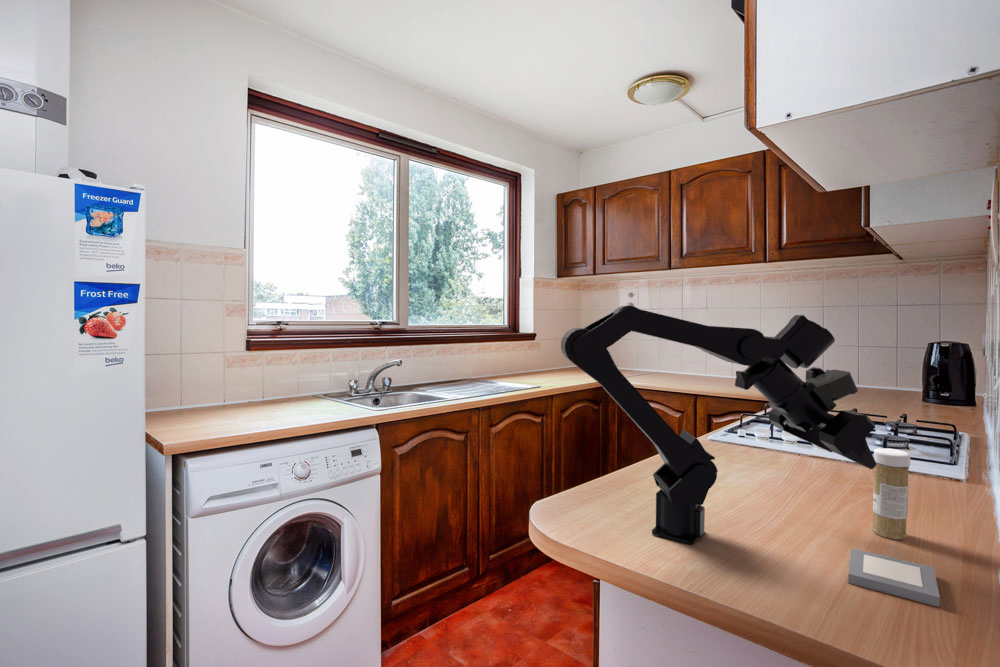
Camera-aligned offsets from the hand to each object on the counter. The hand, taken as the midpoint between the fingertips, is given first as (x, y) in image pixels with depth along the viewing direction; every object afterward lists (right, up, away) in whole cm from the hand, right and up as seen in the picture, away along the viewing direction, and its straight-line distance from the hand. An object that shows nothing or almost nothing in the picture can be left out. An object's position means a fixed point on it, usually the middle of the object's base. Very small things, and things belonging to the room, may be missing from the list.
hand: (852, 458), depth 79 cm
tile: (-4, -13, -13) cm, 19 cm away
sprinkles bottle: (+6, -12, 0) cm, 14 cm away
